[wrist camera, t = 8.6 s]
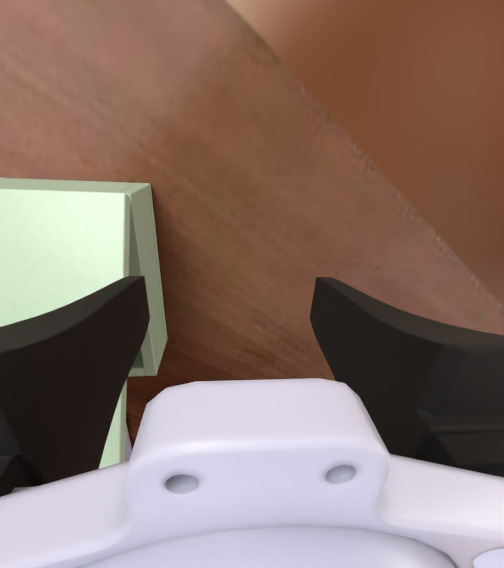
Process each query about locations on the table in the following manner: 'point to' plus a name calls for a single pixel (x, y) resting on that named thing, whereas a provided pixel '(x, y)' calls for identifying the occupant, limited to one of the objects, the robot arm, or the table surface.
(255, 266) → the table surface
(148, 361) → the green lidded box
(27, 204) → the lid
